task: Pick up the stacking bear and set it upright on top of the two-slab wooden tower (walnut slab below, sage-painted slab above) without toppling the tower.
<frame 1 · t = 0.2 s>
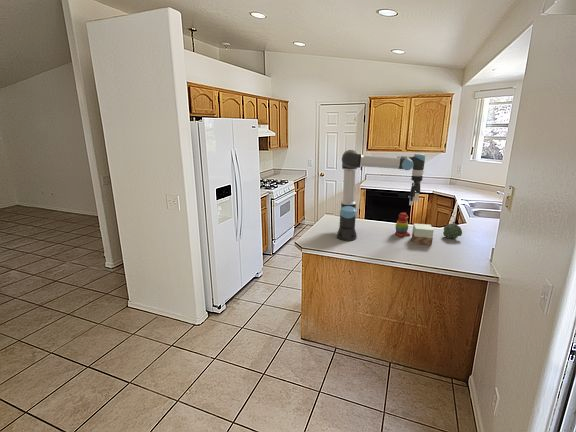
hand: (413, 203, 235), 26 cm above the counter, fingers open, 13 cm apart
upper slab: (422, 234, 231), point 6 cm above the counter, touching lower slab
stacking bear: (401, 234, 246), on the counter
lower slab: (421, 241, 232), on the counter, touching upper slab
vegetable: (451, 237, 240), on the counter
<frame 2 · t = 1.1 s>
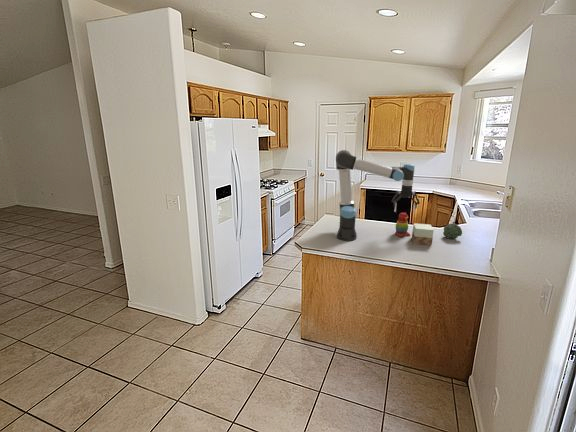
hand: (404, 212, 241), 19 cm above the counter, fingers open, 13 cm apart
nothing on the counter moved.
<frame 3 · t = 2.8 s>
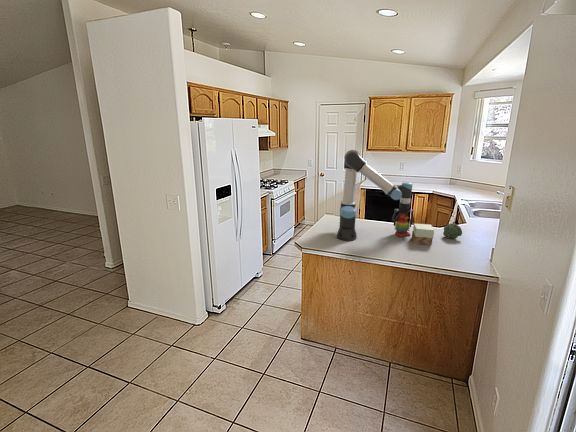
hand: (401, 230, 245), 4 cm above the counter, fingers closed on stacking bear, 9 cm apart
stacking bear: (401, 234, 246), on the counter, touching gripper
everything else where it was.
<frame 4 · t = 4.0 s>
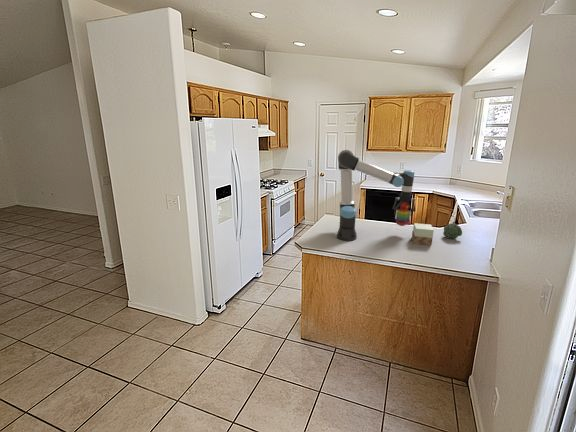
hand: (402, 219, 242), 13 cm above the counter, fingers closed on stacking bear, 9 cm apart
stacking bear: (401, 223, 244), point 9 cm above the counter, touching gripper
everything else where it was.
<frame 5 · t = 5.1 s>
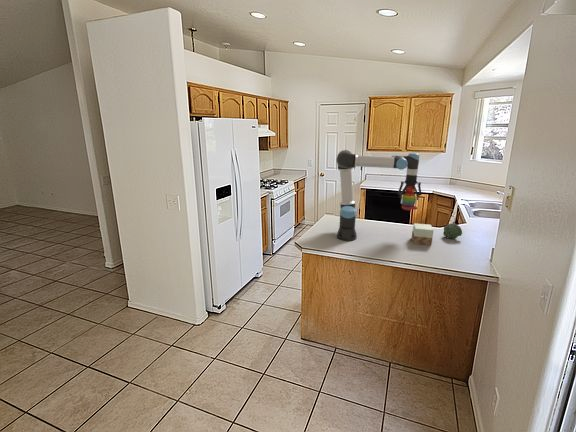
hand: (408, 203, 236), 26 cm above the counter, fingers closed on stacking bear, 9 cm apart
upper slab: (422, 234, 231), point 6 cm above the counter
stacking bear: (408, 208, 237), point 22 cm above the counter, touching gripper
lower slab: (421, 241, 233), on the counter
everything else where it was.
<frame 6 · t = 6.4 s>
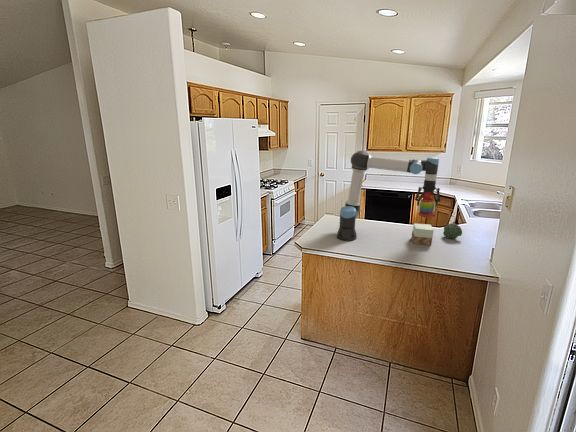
hand: (425, 210, 225), 24 cm above the counter, fingers closed on stacking bear, 9 cm apart
upper slab: (422, 234, 230), point 6 cm above the counter, touching lower slab
stacking bear: (425, 215, 226), point 20 cm above the counter, touching gripper
lower slab: (421, 241, 232), on the counter, touching upper slab
everything else where it was.
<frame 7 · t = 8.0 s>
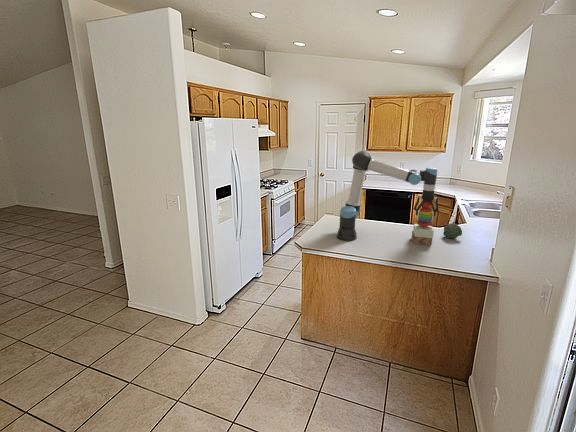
hand: (424, 219, 227), 17 cm above the counter, fingers closed on stacking bear, 9 cm apart
stacking bear: (424, 224, 228), point 13 cm above the counter, touching gripper
everything else where it was.
when the fingers open (17 cm above the counter, at t = 8.0 s): stacking bear drops 2 cm, resting on upper slab.
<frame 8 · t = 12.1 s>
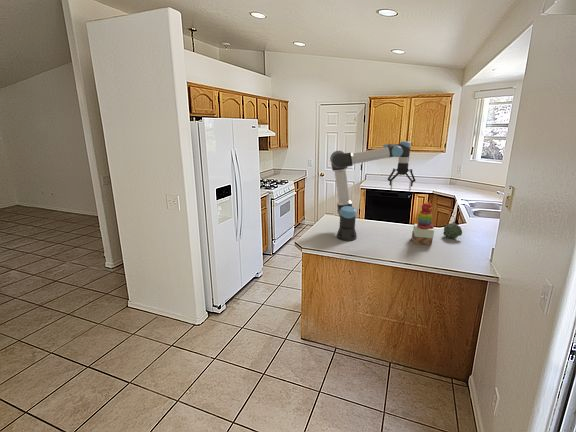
hand: (400, 190, 240), 35 cm above the counter, fingers open, 13 cm apart
upper slab: (422, 234, 230), point 6 cm above the counter, touching lower slab, stacking bear
stacking bear: (424, 227, 229), point 11 cm above the counter, touching upper slab
everything else where it was.
at the end: stacking bear inside the target area on the upper slab (0.2 cm from its centre), point 5.8 cm above the upper slab's base; stacking bear tilted 0°; upper slab 0.3 cm off-centre on the lower slab, point 6.0 cm above the lower slab's base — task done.
